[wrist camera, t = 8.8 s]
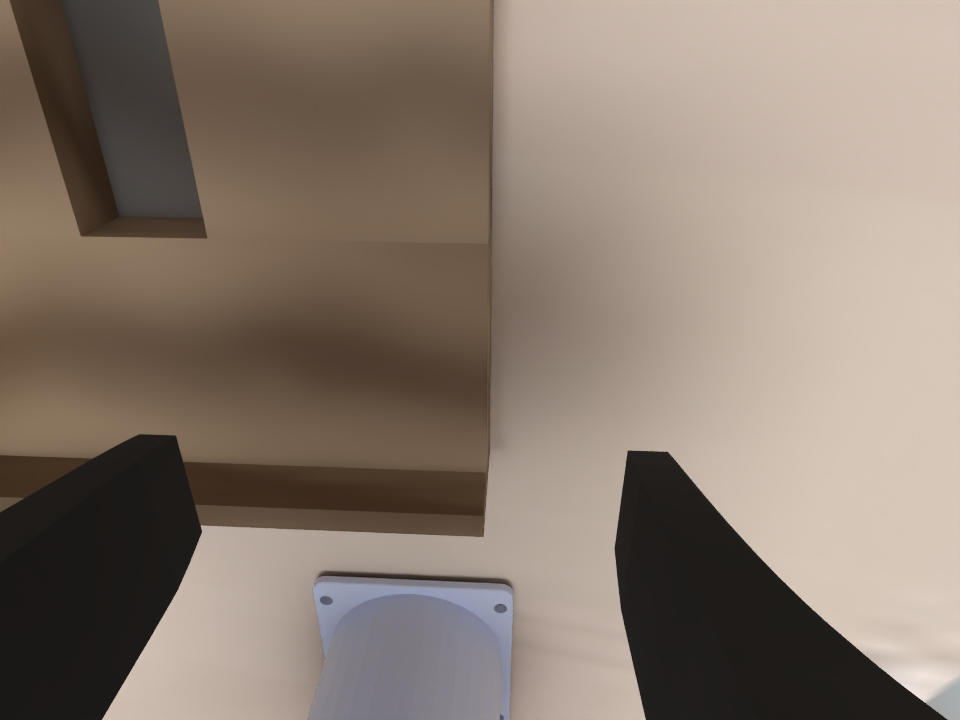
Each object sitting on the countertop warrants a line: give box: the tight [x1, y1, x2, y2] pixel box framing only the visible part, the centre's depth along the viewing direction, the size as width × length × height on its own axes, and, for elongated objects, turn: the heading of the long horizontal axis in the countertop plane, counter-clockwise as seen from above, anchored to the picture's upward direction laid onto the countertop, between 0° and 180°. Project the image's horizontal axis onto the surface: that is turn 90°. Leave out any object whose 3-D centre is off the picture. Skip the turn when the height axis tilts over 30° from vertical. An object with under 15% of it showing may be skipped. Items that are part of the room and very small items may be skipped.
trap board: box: [0, 0, 493, 537], centre depth 18 cm, size 16×23×5 cm
